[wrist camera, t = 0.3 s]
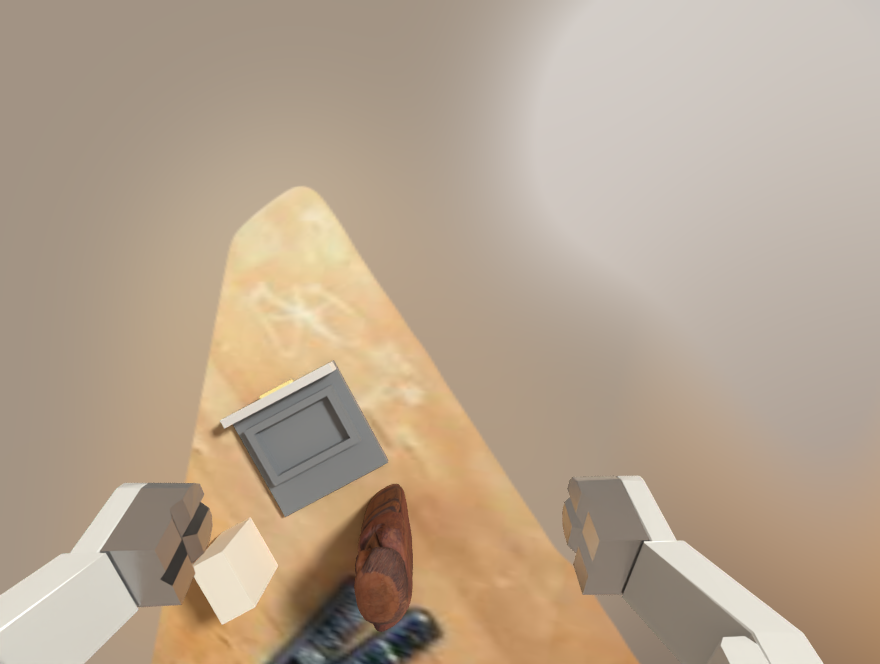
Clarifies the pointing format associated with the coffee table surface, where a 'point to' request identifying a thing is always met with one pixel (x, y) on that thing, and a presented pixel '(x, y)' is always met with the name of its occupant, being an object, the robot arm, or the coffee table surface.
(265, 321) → the coffee table surface
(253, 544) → the product carton
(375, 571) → the wooden figurine
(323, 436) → the display base
